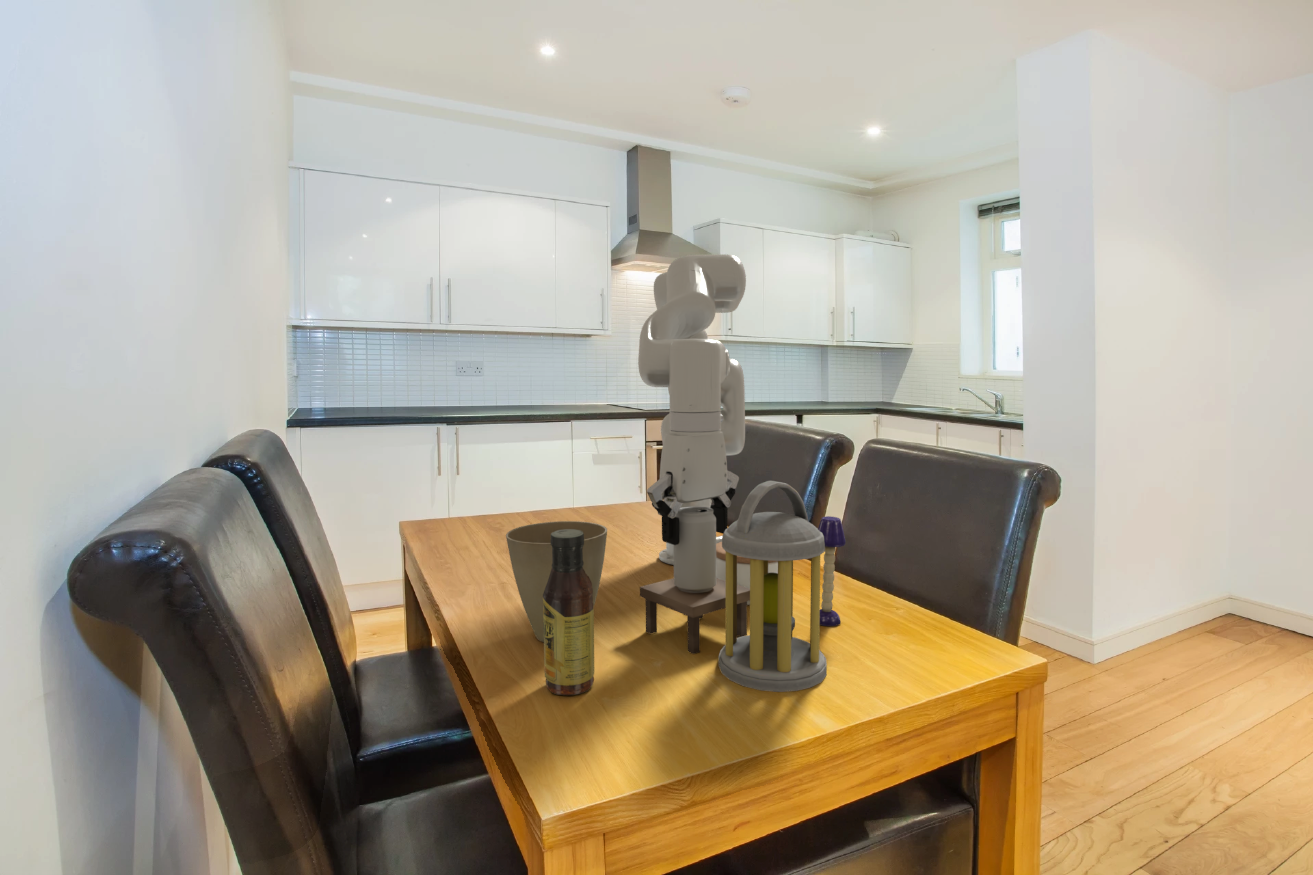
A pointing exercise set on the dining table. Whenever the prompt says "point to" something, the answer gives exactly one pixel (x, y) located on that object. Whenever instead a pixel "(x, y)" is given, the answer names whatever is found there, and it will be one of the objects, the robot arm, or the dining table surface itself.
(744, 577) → the lidded bowl
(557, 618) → the sauce bottle
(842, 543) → the toy lamp
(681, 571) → the beverage can
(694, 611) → the small brown table
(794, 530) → the lantern
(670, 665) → the dining table surface
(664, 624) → the dining table surface
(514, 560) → the plant pot
